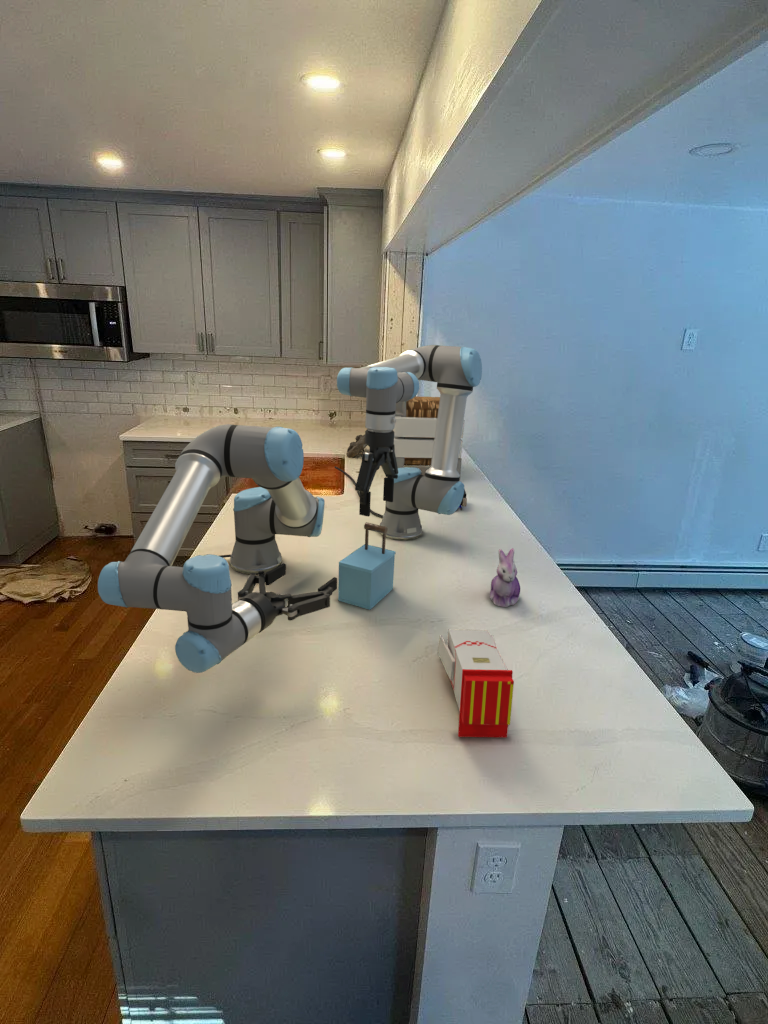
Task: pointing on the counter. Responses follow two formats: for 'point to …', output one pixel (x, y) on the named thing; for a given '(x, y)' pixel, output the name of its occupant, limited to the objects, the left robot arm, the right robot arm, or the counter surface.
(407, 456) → the white wooden crate
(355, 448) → the fossil
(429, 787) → the counter surface
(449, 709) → the counter surface
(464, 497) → the figurine character
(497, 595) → the figurine
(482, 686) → the toy
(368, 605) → the chest
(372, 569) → the lid
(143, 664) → the counter surface
